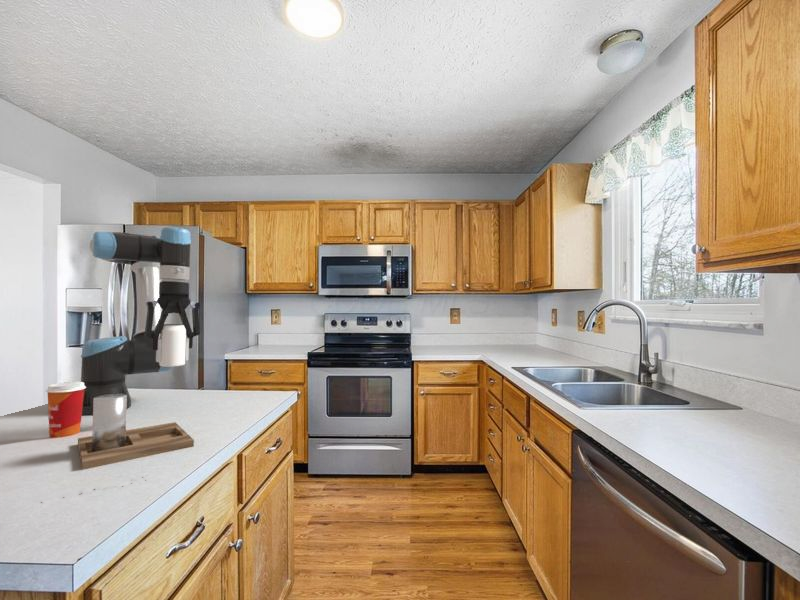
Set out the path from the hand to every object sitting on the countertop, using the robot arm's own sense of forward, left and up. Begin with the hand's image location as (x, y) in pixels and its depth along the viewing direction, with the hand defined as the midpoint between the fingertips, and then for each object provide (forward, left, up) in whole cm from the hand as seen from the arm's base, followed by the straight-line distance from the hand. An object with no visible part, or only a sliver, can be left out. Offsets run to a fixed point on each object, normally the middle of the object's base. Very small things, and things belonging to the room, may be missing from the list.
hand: (172, 360), depth 111 cm
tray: (+19, -11, -18) cm, 29 cm away
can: (0, 0, -2) cm, 2 cm away
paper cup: (-2, -23, -18) cm, 30 cm away
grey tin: (+19, -16, -17) cm, 30 cm away
